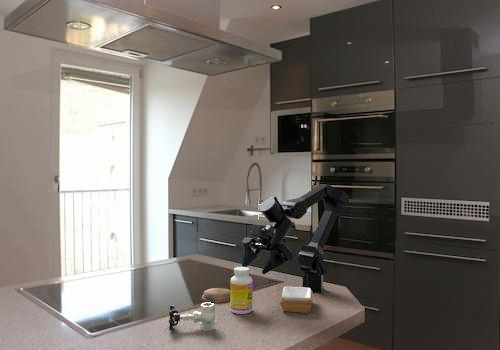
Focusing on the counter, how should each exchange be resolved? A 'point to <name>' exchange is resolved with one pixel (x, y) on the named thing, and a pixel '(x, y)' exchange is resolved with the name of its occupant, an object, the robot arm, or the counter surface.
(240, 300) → the supplement bottle
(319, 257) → the robot arm
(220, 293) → the beige saucer
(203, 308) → the valve
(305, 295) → the soap dish
